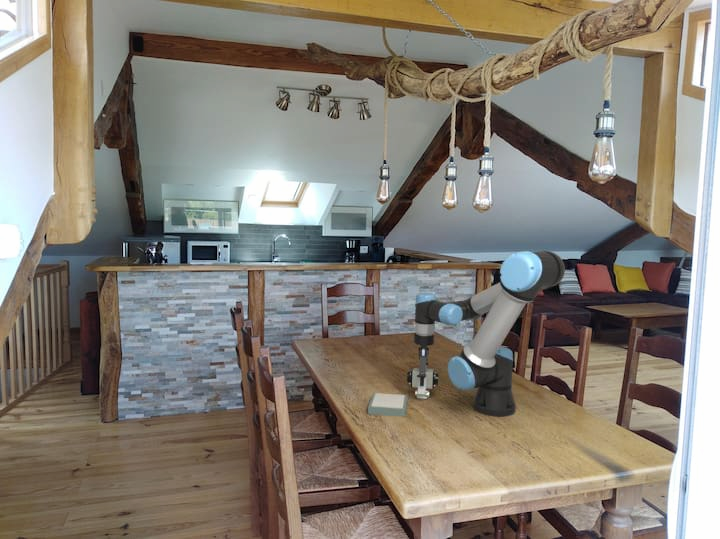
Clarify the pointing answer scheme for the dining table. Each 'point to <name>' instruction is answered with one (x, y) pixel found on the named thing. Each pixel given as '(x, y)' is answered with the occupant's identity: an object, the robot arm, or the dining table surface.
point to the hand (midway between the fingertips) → (421, 387)
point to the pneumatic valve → (431, 381)
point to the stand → (388, 404)
